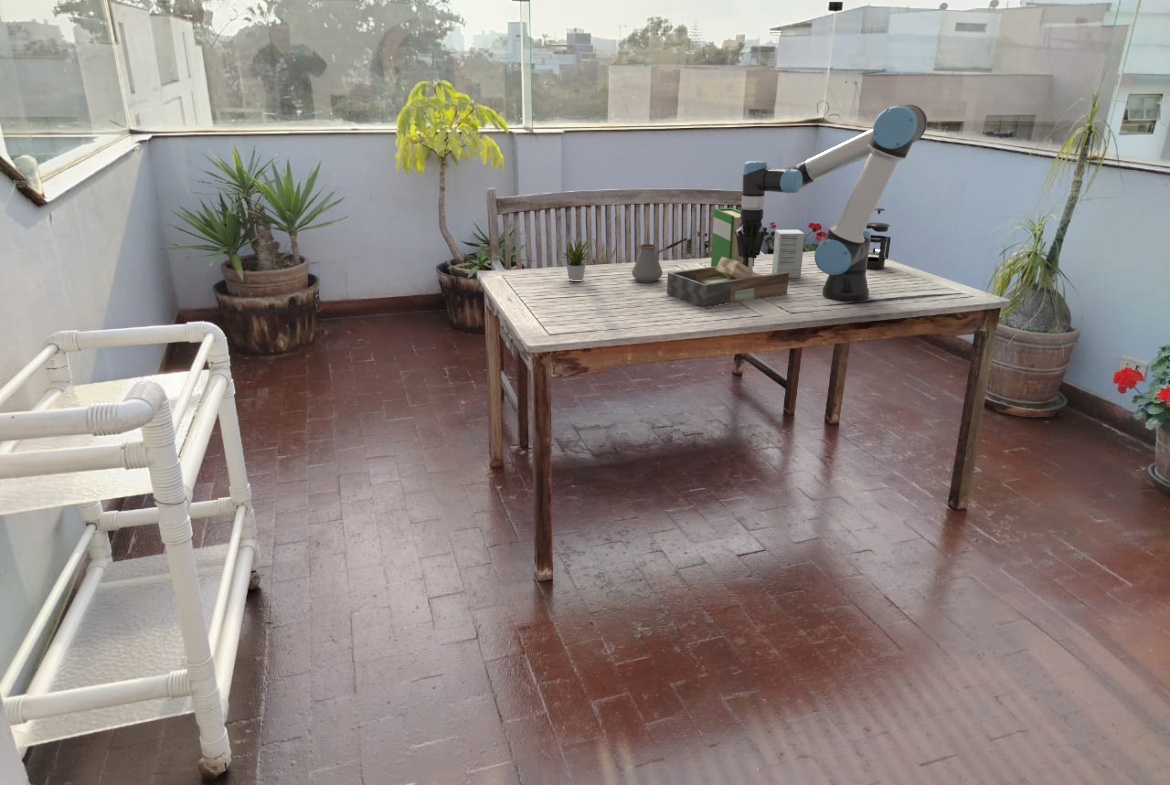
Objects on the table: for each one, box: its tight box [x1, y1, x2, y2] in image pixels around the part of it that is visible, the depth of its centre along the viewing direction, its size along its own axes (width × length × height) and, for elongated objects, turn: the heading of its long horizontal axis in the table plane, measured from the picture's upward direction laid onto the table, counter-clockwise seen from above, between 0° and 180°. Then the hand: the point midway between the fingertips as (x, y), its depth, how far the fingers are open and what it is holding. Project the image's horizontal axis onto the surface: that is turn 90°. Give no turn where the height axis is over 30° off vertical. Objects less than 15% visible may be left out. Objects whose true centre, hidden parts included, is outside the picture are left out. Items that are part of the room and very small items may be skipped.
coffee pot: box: [631, 237, 689, 283], centre depth 297 cm, size 21×12×15 cm, turn 103°
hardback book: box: [710, 207, 743, 267], centre depth 300 cm, size 18×7×24 cm, turn 12°
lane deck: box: [666, 263, 790, 308], centre depth 277 cm, size 21×36×8 cm, turn 119°
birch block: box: [715, 257, 754, 280], centre depth 277 cm, size 9×8×5 cm
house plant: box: [558, 237, 595, 280], centre depth 295 cm, size 14×14×16 cm
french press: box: [865, 207, 892, 271], centre depth 313 cm, size 12×9×23 cm
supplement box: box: [771, 229, 805, 279], centre depth 301 cm, size 10×9×17 cm
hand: (747, 276), depth 280 cm, fingers closed
